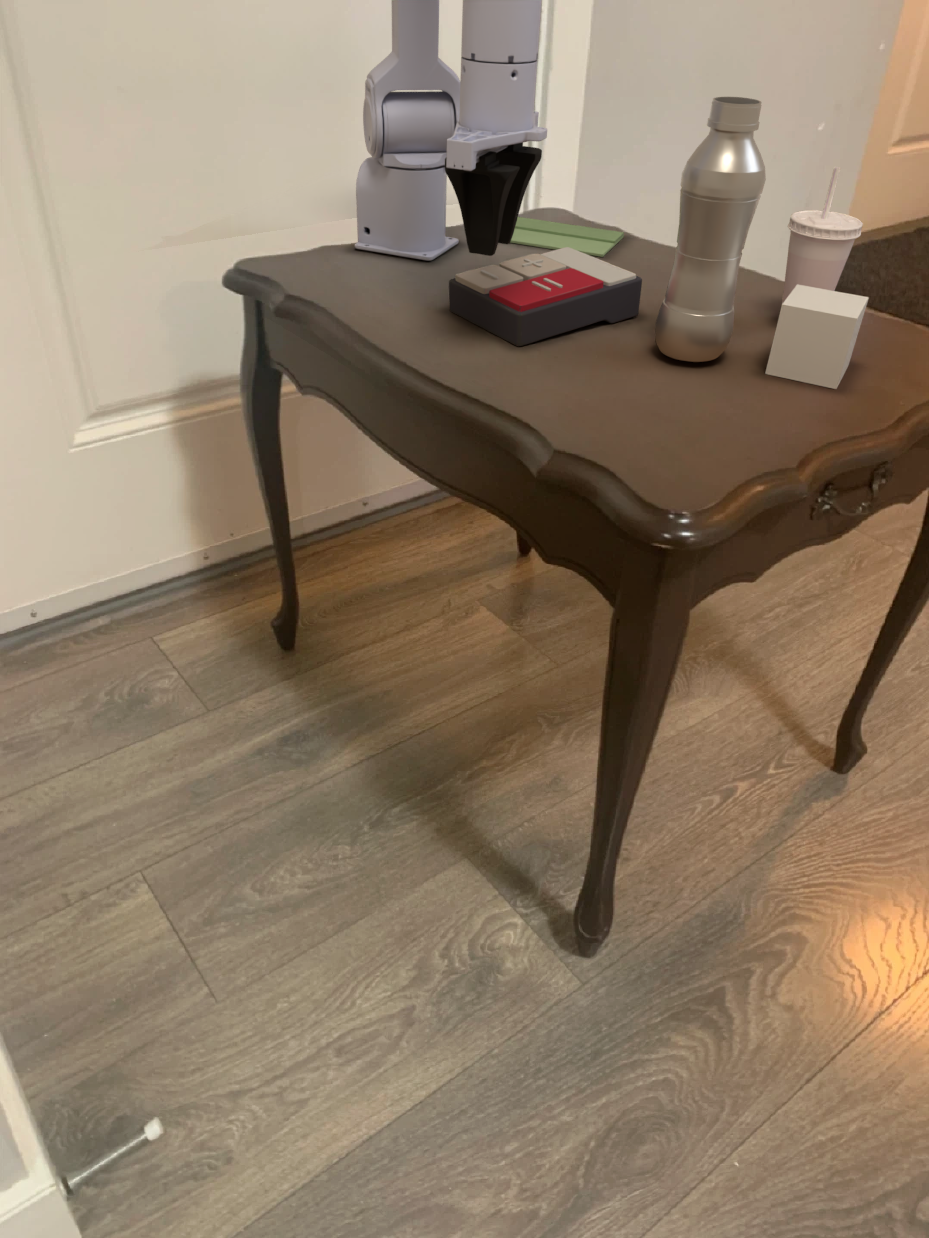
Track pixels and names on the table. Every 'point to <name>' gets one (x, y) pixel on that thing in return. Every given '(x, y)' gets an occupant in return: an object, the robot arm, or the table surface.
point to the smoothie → (819, 245)
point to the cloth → (564, 236)
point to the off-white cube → (816, 335)
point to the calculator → (544, 295)
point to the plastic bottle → (712, 233)
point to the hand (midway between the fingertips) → (490, 247)
